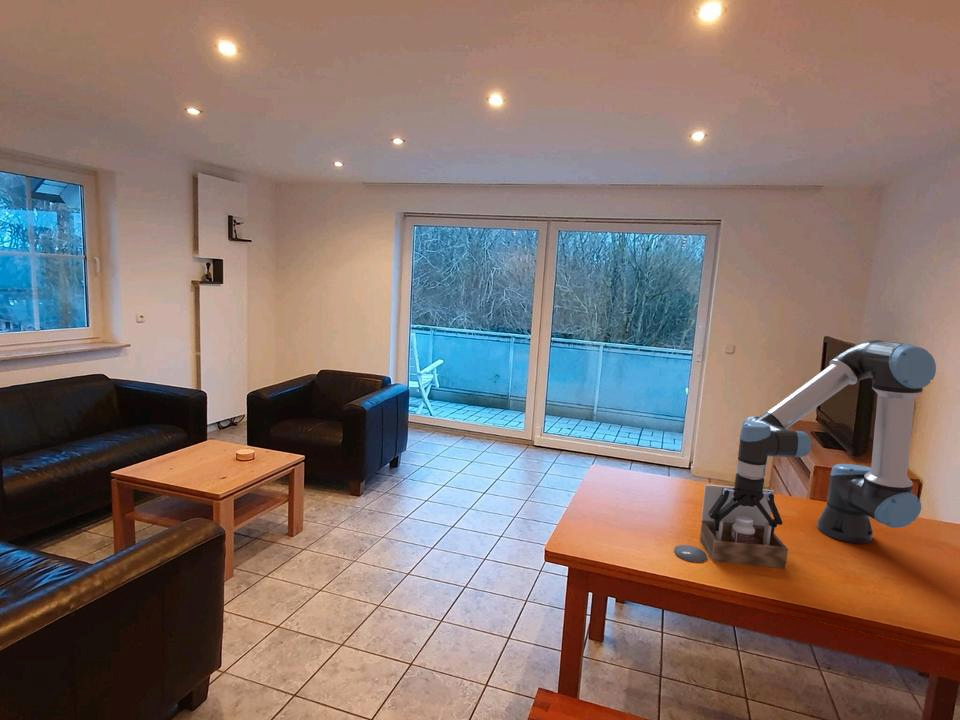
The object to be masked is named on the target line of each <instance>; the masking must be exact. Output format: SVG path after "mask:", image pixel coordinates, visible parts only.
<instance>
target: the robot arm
mask: <svg viewBox="0 0 960 720" xmlns="http://www.w3.org/2000/svg"><path fill="white" fill-rule="evenodd" d="M936 373H937V365H936V361H935V358H934V357H933V355H932V354H931V352H929V351H928V350H927V349H925V348H923V347H920V346H917V345H912V344H910V343H901V342H893V341H885V340H880V339H878V340H877V339H872V340H867V341H863V342H860V343H858V344H856V345H853V346H851V347H849V348H847V349H846V350H845V351H842V352H841V353H839V354H838V355H836V356H835V357H833V359H831V360H830V361H829V364H828V366H827V367H826V368H824V369H823V370H822V371H820V372H819V373H818V374H816V375H815V376H814V377H812V378H811V379H809V380H808V381H806V382H805V383H803V385H801V386H800V387H798V388H797V389H796V390H794V391H793V392H791V393H790V394H789V395H787V396H786V397H785V398H783V399H782V400H781V401H779V402H778V403H776V404H775V405H774V406H772V407H771V408H769V409H768V410H767V411H766V412H764V413H763V414H761V415H760V416H756V415H752V416H749V417H746V418H745V419H744V421H743V422H742V424H741V429H740V435H739V447H738V454H737V460H736V461H737V462H736V464H737V465H736V469H735V471H736V473H735V478H734V486H733V487H734V489H733V490H730V489H727V488H725V487H724V488H723V489H722V493H721V495H720V497H719V498H718V500H717V501H716V502H715V504H714V505H713V507H712V508H711V510H710V511H709V512H708V515H709V516H710V518H711V519H714V526H713V527H714V530H715V531H716V537H715V538H716V539H717V541H721V537H722V529H723V521H722V519H723V518H724V517H725V516H727V515H728V514H729V513H730V512H731V511H732V510H733V509H735V508H736V507H738V506H739V505H742V506H750V507H753V506H755V505H756V506H757V507H758V509H759V510H760V511H761V513H762V514H763V515H764V517H765V518H766V519H767V521H768V522H769V523H766V522H765V528H764V536H763V544H764V545H769V543H770V536H773V535H774V534H775V528H777V526H782V525H783V520H782V517H781V516H780V513H779V511H778V508H777V505H776V503H775V494H774V495H773V494H772V493H771V492H770V491H767V492H763V489H764V485H765V478H764V477H766V472H767V471H766V469H767V461H768V457H783V458H802V457H806V456H808V455H809V454H810V452H811V450H812V449H811V448H812V441H811V437H810V436H809V434H808V433H806V432H805V431H803V430H800V431H799V430H788V428H790V427H792V425H794V424H796V423H797V422H799V420H801V419H803V418H805V416H806V415H808V414H809V413H811V412H812V411H813V410H815V409H816V408H818V407H819V406H820V405H822V404H823V403H824V402H826V401H827V400H828V399H830V398H831V397H833V396H834V395H836V394H837V393H838V392H840V391H841V390H842V389H844V388H845V387H847V386H848V385H855V384H857V383H858V382H859V381H861V380H864V379H872V383H871V384H872V385H871V389H872V390H873V391H874V392H875V393H876V394H877V399H876V409H875V410H876V411H875V412H876V413H875V419H874V421H875V422H874V431H873V444H872V453H871V454H872V455H871V465H870V466H866V465H861V464H854V463H852V464H851V463H836V464H834V465H833V466H832V468H831V472H830V474H829V483H828V491H827V500H826V505H825V507H824V509H823V510H822V513H821V514H820V516H819V518H818V519H817V523H816V527H817V529H818V530H819V531H820V532H821V533H823V534H824V535H826V536H828V537H831V538H832V539H836V540H839V541H843V542H847V543H851V544H852V543H853V544H861V545H863V544H868V543H871V542H872V541H873V535H874V532H873V528H872V524H871V523H872V522H871V520H870V518H871V519H872V520H873V519H874V521H876V522H877V523H879V524H882V525H885V526H888V527H889V528H894V529H899V528H900V529H901V528H904V527H907V526H909V525H911V524H912V523H913V522H915V521H916V519H918V517H919V516H920V514H921V510H922V502H921V500H920V499H919V498H918V495H916V494H914V493H913V485H914V482H913V481H912V480H911V479H910V478H909V477H908V469H909V460H910V459H909V458H910V450H911V439H912V431H913V430H912V428H913V421H914V410H915V409H914V408H915V401H916V397H918V396H919V395H920V394H922V393H923V389H924V388H925V387H926V386H928V385H930V384H931V381H933V380H934V378H935V376H936ZM732 494H733V495H734V497H733V498H732V499H731V500H730V502H729V503H728V504H726V505H725V506H724V507H723V505H724V504H725V502H726V501H727V499H728V497H730V496H731V495H732ZM763 497H765V499H766V500H767V502H768V504H769V507H770V509H771V515H772V516H771V517H770V515H769V514H768V513H767V511H766V510H765V509H764V507H763V506H762V505H761V503H760V502H759V501H760V500H761V499H762V498H763ZM722 507H723V508H722ZM721 508H722V509H721ZM720 509H721V510H720ZM772 517H773V518H772Z"/></svg>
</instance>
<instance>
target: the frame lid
mask: <svg viewBox="0 0 960 720" xmlns="http://www.w3.org/2000/svg"><path fill="white" fill-rule="evenodd" d="M724 487H725V488H727V489H730V490H733V489H734V487H735V486H727V485H726V486H725V485H716V484H715V485H713V484H704V491H703V493H704V494H703V502H702V510H701V518H700V519H701V520H700V523H701V524H702V523H712V524H714V519H711V518H710V516H709V515H708V512H709V511H710V510H711V508H712V507H713V505H714V504H715V502H716V501H717V500H718V498H719V497H720V495H721V493H722V489H723V488H724ZM767 491H770V492H771V493H772V494H773V495H774V496H775V494H774V493H775V491H774V489H764V488H763V492H767ZM733 497H734V495H733V494H732V495H731V496H730V497H728V499H727V501H726V502H725V504H724V505H723V507H724V506H725V505H726V504H728V503H729V502H730V500H731V499H732V498H733ZM759 502H760V503H761V505H762V506H763V507H764V509H765V510H766V511H767V513H768V514H769V515H770V517H771V518H772V512H771V509H770V507H769V504H768V502H767V500H766V499H765V497H763V498H762V499H761V500H760V501H759ZM723 507H722V508H723ZM722 508H721V509H722ZM721 509H720V510H721ZM736 516H746V517H749V518H751V519H753V527H757V528H765V522H766V523H769V522H768V521H767V519H766V518H765V517H764V515H763V514H762V513H761V511H760V510H759V509H758V507H757V506H756V505H755V506H753V507H750V506H742V505H739V506H738V507H736V508H735V509H733V510H732V511H731V512H730V513H729V514H728V515H727V516H725V517H724V518H723V519H722V521H723V525H733V524H734V523H736V521H735V520H736Z"/></svg>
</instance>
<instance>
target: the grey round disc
mask: <svg viewBox="0 0 960 720" xmlns="http://www.w3.org/2000/svg"><path fill="white" fill-rule="evenodd" d="M673 553H674V554H675V556H677V557H678V558H679V557H680V559H682V560H683V561H686V560H687V562H690V563H702V562H703V563H704V562H705V561H707V552H705V551H704V550H703V549H701V548H699V547H696V546H693V545H688V544H679V545H676V546H675V547H674V549H673Z"/></svg>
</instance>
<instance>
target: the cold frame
mask: <svg viewBox="0 0 960 720" xmlns="http://www.w3.org/2000/svg"><path fill="white" fill-rule="evenodd" d="M713 526H714V524H712V523H702V522H701V526H700V536H699V542H700V543H701V544H702V546H703V547H704V549H705V551H706V554H708V556H709V558H710V560H711V561H712V562H716V563H727V564H734V565H736V564H737V565H748V566H758V567H769V568H778V569H779V568H780V569H787V568H786V567H787V559H788V553H789V552H788V551H789V548H788V547H787V546H786V545H785V543H784V542H783V541H781V539H780V538H779V537H778V536H777V535H776V533H774V535H773V536H770V543H769V545H764V544H763V536H764V528H757V527H754V529H755V536H754V544H749V543H738V542H730V541H731V533H732V525H723V529H722V537H721V541H717V539H716V538H715V537H716V531H715V530H714V527H713Z"/></svg>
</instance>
